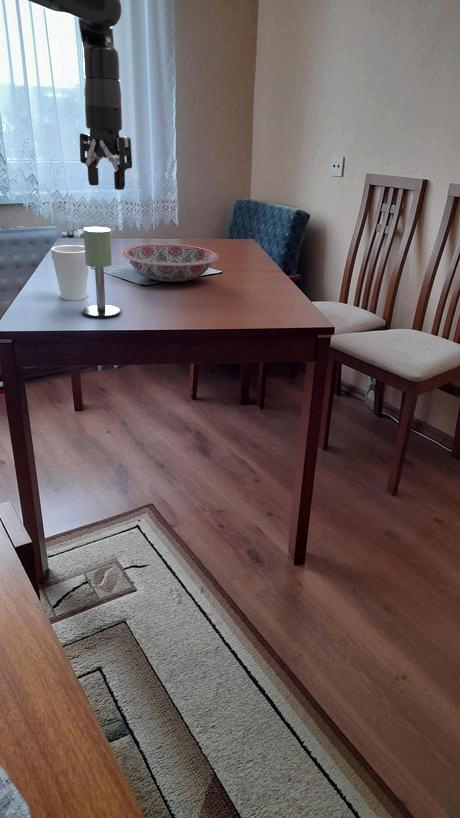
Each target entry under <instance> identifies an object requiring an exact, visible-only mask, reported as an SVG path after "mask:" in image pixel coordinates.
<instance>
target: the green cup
mask: <svg viewBox="0 0 460 818" xmlns="http://www.w3.org/2000/svg"><path fill="white" fill-rule="evenodd" d="M83 243H84V245H83V246H84V247H85V260H86V265H88V267H91V268H95V267H103V268H107V267H111V266H112V265H113V255H112V253H113V252H112V231H111V229H110V228H108V227H101V226H89V227H84V228H83Z"/></svg>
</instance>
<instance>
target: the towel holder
mask: <svg viewBox="0 0 460 818" xmlns="http://www.w3.org/2000/svg"><path fill="white" fill-rule="evenodd" d="M104 268H105V267H94V275H95V292H96V295H95V297H96V304H95V305H90V306H86V307H84V308H83V309H82V315H83V316H84V317H85V318H88V319H92V320H110V319H115V318H117V317H119V316H120V315H121V309H120V308H119V307H117V306H114V305H109V304H106V292H105V291H106V290H105V272H104V270H105V269H104Z"/></svg>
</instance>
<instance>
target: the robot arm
mask: <svg viewBox="0 0 460 818" xmlns="http://www.w3.org/2000/svg"><path fill="white" fill-rule="evenodd" d="M25 1H27V2H29V3H32V4H34V5H35V6H38V7H41V8H44V9H46V10H48V11H50V12H54V13H57V14H68V15H70V16H72V17H76V18H77V19H78V26H79V33H80V34H79V35H80V38H81V39H80V40H81V44H82V49H83V72H84V73H83V74H84V75H83V76H84V87H83V94H84V95H83V96H84V97H83V98H84V114H85V126H86V128H87V129H88V130H89V133H82V132H81V133H79V160H80V163H81V164H84V165H85V166H86V167H87V181H88V184H89V186H98V185H99V183H100V181H99V167H98V165H99V164H100V161H101V160H102V159H103V158H105V159H107V161H108V162H109V163H111V164H112V167H113V170H114V171H113V180H114V183H113V185H114V186H113V187H114V189H115V190H117V191H123V190H125V187H126V173H125V172H126V171H127V170H129V169H132V168H133V156H132V154H133V153H132V141H131V140H132V139H131V137H129V136H128V137H127V136H120V131H122V129H123V111H122V109H123V108H122V90H121V80H120V59H119V58H120V57H119V53H118V51H117V49H116V48H115V45H114V44H115V43H114V41H115V40H114V30H113V27H115V26H116V25H117V24H118V23H119V21H120V19H121V17H122V9H123V8H122V3H121V0H25Z"/></svg>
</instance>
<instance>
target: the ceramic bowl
mask: <svg viewBox="0 0 460 818" xmlns="http://www.w3.org/2000/svg"><path fill="white" fill-rule="evenodd" d="M121 254H122V257H123V258H125V259H127V260H128V261H129V263H130V265H131V266H132V267H133V268H134V269H135V271H136V272H138V273H139V274H140V275H142V276H143V277H145V278H147V279H151V280H153V281H158V282H166V283H167V282H168V283H180V282H188V281H192V280H195V279H197V278H199V277H201V276H203V274H204V273H206V272H207V270H208V269H209V268H210V266H211V265H212V263H214V262H216V261H218V260H219V254H218V253H217V252H215V251H214V250H211V249H208V248H205V247H199V246H194V245H186V244H178V243H177V244H176V243H149V244H140V245H139V244H138V245H134V246H130V247H127V248H125V249H123V250H122V252H121Z"/></svg>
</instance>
